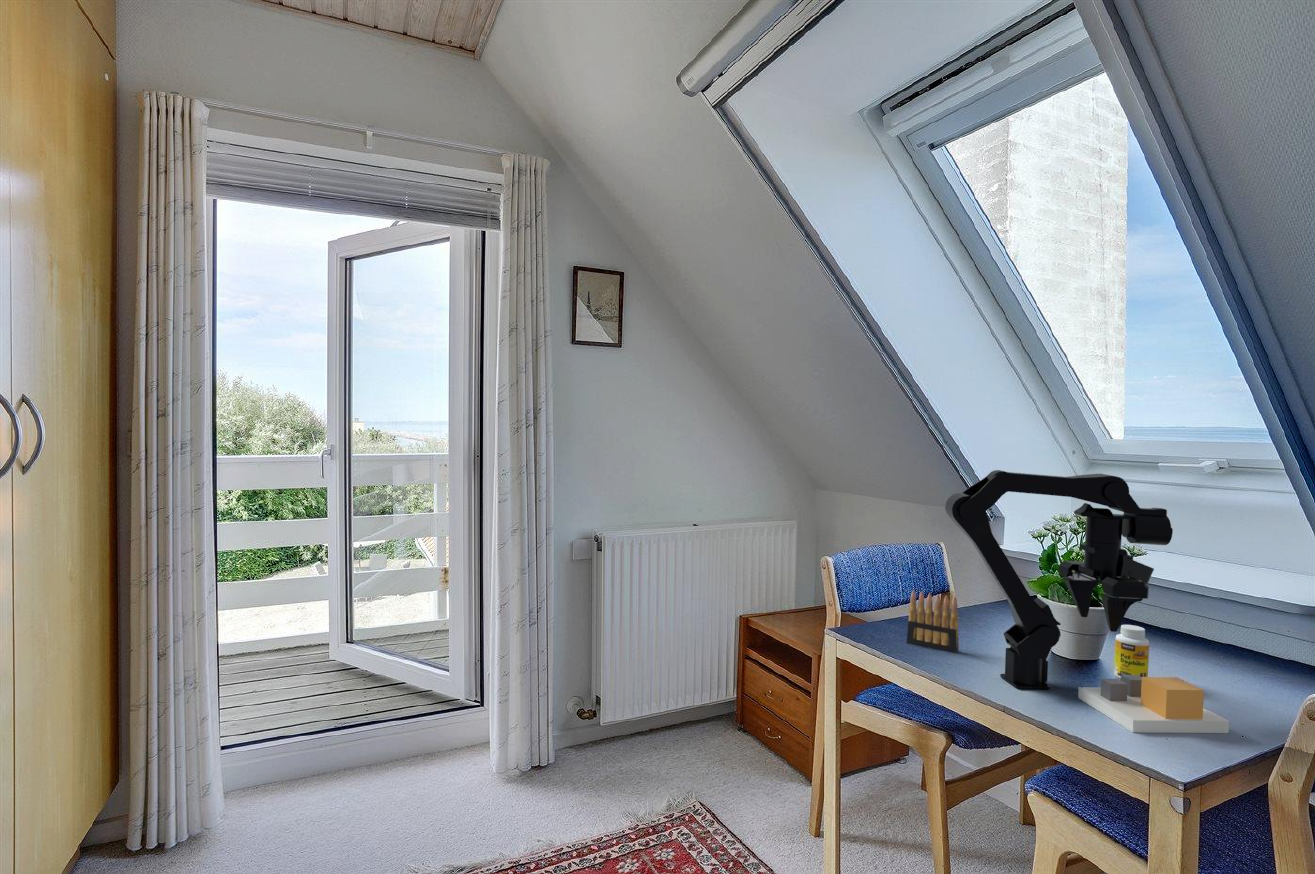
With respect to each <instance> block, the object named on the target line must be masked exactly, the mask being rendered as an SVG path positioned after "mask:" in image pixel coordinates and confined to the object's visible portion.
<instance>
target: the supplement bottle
mask: <svg viewBox="0 0 1315 874" xmlns="http://www.w3.org/2000/svg"><path fill="white" fill-rule="evenodd" d="M1114 640H1115V642H1114V660H1113V661H1114V663H1113V674H1114V676H1115V677H1116V678H1117V679H1119V680H1121V675H1138V676H1140V677H1149V660H1150V640H1148V638H1146V629H1145V628H1144V627H1141V626H1138V625H1134V624H1133V625H1132V624H1120V633H1118V634H1116V636H1115V639H1114Z"/></svg>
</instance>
